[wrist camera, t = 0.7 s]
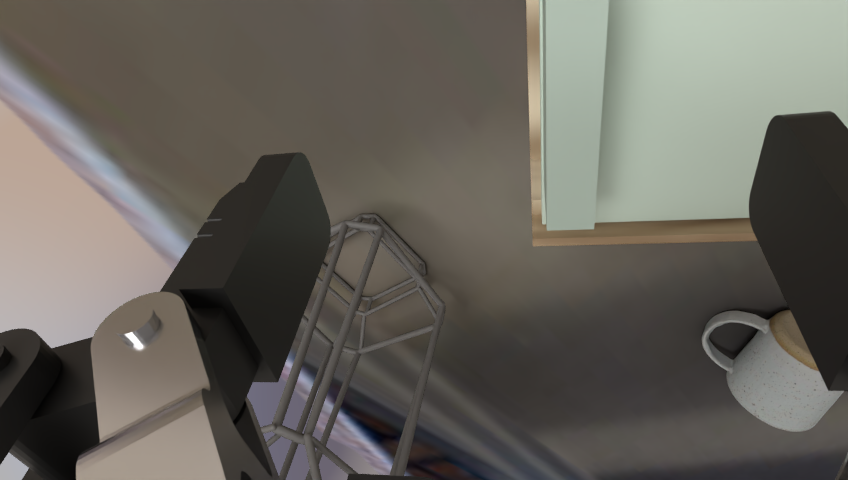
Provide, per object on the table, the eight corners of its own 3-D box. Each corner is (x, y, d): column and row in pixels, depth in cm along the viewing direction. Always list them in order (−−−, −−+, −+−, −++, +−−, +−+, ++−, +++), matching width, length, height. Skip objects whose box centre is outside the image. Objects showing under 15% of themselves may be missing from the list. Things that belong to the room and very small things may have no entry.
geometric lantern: (355, 332, 58) (203, 803, 31) (247, 227, 51) (-68, 725, 24) (485, 283, 51) (430, 845, 24) (381, 152, 43) (139, 750, 17)
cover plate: (537, -128, 20) (541, -103, 16) (1148, -219, 17) (1330, -213, 13) (541, 210, 30) (544, 275, 26) (928, 196, 26) (995, 268, 23)
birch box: (521, -180, 29) (523, -146, 18) (947, -252, 25) (1256, -259, 15) (528, 116, 40) (533, 246, 29) (828, 96, 36) (957, 236, 25)
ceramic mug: (847, 310, 47) (891, 385, 42) (797, 367, 53) (829, 441, 47) (721, 289, 48) (747, 361, 42) (684, 348, 53) (702, 419, 48)
